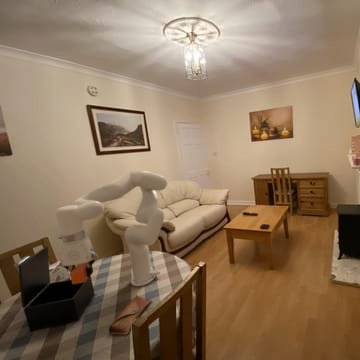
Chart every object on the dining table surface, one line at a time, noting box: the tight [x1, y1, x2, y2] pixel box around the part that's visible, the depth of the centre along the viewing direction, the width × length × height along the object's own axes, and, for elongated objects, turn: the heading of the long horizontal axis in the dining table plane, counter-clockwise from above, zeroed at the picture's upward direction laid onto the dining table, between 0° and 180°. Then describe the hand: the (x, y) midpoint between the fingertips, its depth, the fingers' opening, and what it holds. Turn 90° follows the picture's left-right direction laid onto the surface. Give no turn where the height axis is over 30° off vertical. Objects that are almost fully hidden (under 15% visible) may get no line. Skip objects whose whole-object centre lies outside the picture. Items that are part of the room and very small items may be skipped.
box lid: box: [13, 246, 50, 309], centre depth 90 cm, size 18×17×6 cm
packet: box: [69, 263, 94, 284], centre depth 87 cm, size 4×8×5 cm, turn 15°
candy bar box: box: [49, 260, 71, 283], centre depth 106 cm, size 11×5×16 cm, turn 168°
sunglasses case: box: [108, 294, 152, 336], centre depth 91 cm, size 18×7×7 cm, turn 173°
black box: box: [23, 275, 96, 332], centre depth 95 cm, size 18×17×11 cm
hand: (83, 276), depth 87 cm, fingers closed on packet, 4 cm apart
